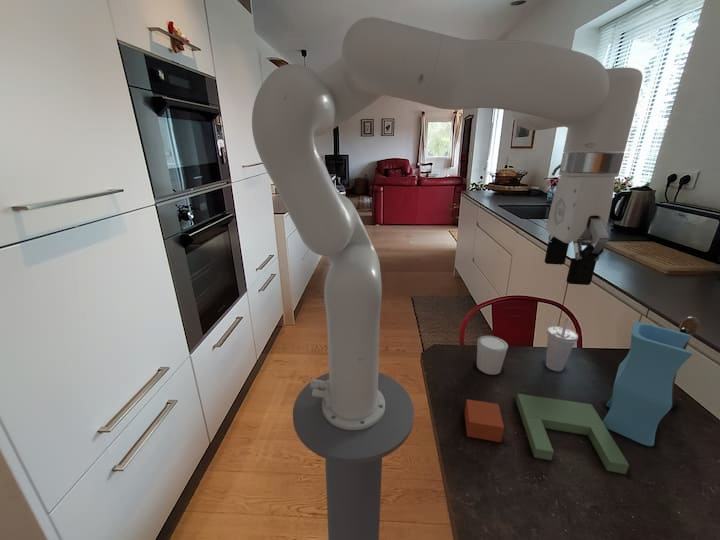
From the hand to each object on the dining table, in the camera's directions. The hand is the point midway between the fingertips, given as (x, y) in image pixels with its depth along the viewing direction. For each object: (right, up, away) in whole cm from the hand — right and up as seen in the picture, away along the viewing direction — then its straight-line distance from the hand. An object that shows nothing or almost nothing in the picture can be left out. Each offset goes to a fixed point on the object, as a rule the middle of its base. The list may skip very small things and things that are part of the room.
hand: (565, 272), depth 54 cm
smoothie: (+14, -24, +26) cm, 38 cm away
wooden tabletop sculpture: (+30, -28, +15) cm, 44 cm away
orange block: (-11, -30, +8) cm, 33 cm away
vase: (+18, -30, +9) cm, 36 cm away
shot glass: (-2, -24, +26) cm, 35 cm away
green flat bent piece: (+4, -30, +7) cm, 32 cm away
